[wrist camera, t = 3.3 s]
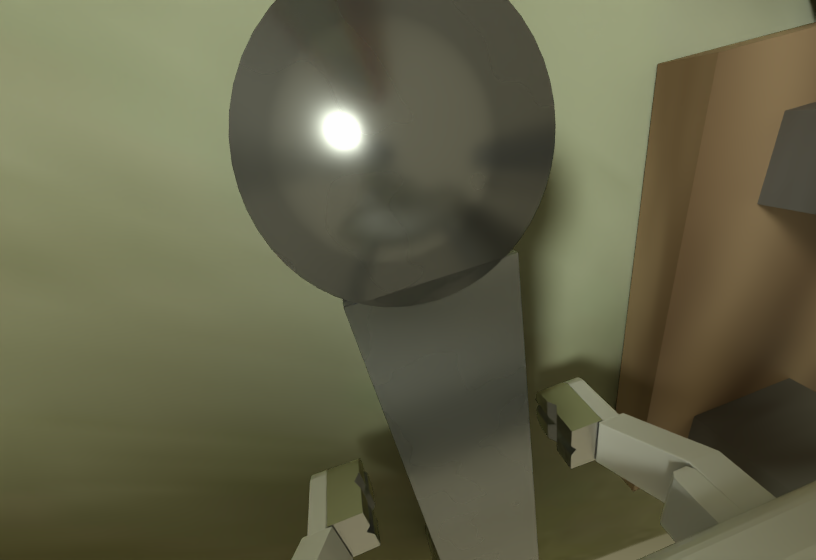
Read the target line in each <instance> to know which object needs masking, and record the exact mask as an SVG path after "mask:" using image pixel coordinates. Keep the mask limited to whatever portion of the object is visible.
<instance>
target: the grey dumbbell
mask: <svg viewBox="0 0 816 560" xmlns="http://www.w3.org/2000/svg"><path fill="white" fill-rule="evenodd" d="M229 143H230V152H231V160H232V166H233V170H234V174H235V178H236V182H237V185H238V189H239V192H240V194H241V197H242V199H243V202H244V204H245V207H246V209H247V211H248V213H249V215H250V217H251V219H252V220H253V222H254V224H255V226H256V228H257V230H258V231H259V233H260V234H261V235H262V237H263V238H264V240H265V241H266V242H267V244H268V245H269V246H270V248H271V249H272V250H273V251H274V252H275V253H276V254H277V255H278V257H279V258H280V259H281V260H282V261H283V262H284V263H285V264H286V265H287V266H288V267H290V268H291V269H292V270H293V271H294V272H296V273H297V274H298V275H299V276H300V277H302V278H303V279H305V280H306V281H308V282H309V283H311V284H312V285H314V286H316V287H317V288H319V289H321V290H323V291H325V292H327V293H329V294H331V295H333V296H336V297H339V298H342V299H343V306H344V310H345V313H346V316H347V318H348V321H349V323H350V326H351V329H352V331H353V334H354V336H355V339H356V342H357V344H358V347H359V349H360V352H361V355H362V357H363V360H364V362H365V365H366V368H367V370H368V373H369V375H370V378H371V381H372V383H373V386H374V388H375V391H376V394H377V396H378V399H379V402H380V404H381V407H382V409H383V412H384V415H385V417H386V420H387V422H388V425H389V428H390V430H391V433H392V435H393V438H394V441H395V443H396V446H397V448H398V451H399V454H400V456H401V459H402V461H403V464H404V467H405V469H406V472H407V474H408V477H409V480H410V482H411V485H412V487H413V490H414V493H415V495H416V498H417V501H418V503H419V506H420V508H421V511H422V514H423V516H424V519H425V521H426V527H425V531H426V535H427V539H428V543H429V547H430V551H431V555H432V559H433V560H539V556H538V541H537V526H536V511H535V496H534V482H533V467H532V452H531V437H530V422H529V407H528V392H527V377H526V362H525V347H524V332H523V317H522V302H521V287H520V272H519V257H518V252H516V251H515V250H513V249H512V248H513V247H514V246H515V245H516V243H517V242H518V241H519V240H520V238H521V237H522V235H523V234H524V232H525V230H526V229H527V227H528V226H529V224H530V223H531V221H532V219H533V217H534V215H535V213H536V211H537V209H538V207H539V204H540V202H541V199H542V196H543V194H544V191H545V188H546V185H547V181H548V178H549V174H550V170H551V166H552V159H553V153H554V145H555V110H554V100H553V94H552V89H551V83H550V79H549V75H548V72H547V69H546V66H545V62H544V59H543V57H542V54H541V52H540V50H539V47H538V45H537V43H536V41H535V38H534V36H533V35H532V33H531V31H530V30H529V28H528V26H527V25H526V23H525V21H524V20H523V18H522V16H521V15H520V14H519V13H518V11H517V10H516V9H515V8H514V7H513V5H512V4H511V3H510V2H509V0H276V1H275V2H274V3H273V4H272V5H271V6H270V8H269V9H268V10H267V12H266V13H265V15H264V16H263V18H262V19H261V21H260V22H259V24H258V25H257V27H256V28H255V30H254V31H253V33H252V35H251V38H250V40H249V42H248V44H247V46H246V48H245V50H244V52H243V55H242V57H241V60H240V63H239V67H238V70H237V73H236V77H235V80H234V83H233V89H232V96H231V103H230V109H229Z"/></svg>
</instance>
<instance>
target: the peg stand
mask: <svg viewBox="0 0 816 560" xmlns="http://www.w3.org/2000/svg"><path fill="white" fill-rule="evenodd" d="M616 412H617V413H618V414H622V413H624V414H627V415H629V416H632V417H634V418H637V419H640V420H642V421H645V422H647V423H650V424H652V425H655V426H657V427H660V428H662V429H665V430H667V431H670V432H672V433H675V434H677V435H680V436H682V437H685V438H687V439H690V440H692V441H695V442H697V443H700V444H703V445H705V446H708V447H710V448H713V449H715V450H718V451H720V452H721V453H722V454H723V455H725V456H726V457H727V458H728V459H729V460H731V461H732V462H733V463H734V464H735V465H737V466H738V467H739V468H740V469H742V470H743V471H744V472H745V473H746V474H748V475H749V476H750V477H751V478H753V479H754V480H755V481H756V482H757V483H759V484H760V485H761V486H762V487H763V488H765V489H766V490H767V491H768V492H770V493H771V494H772V495H773V496H774V497H776V498H778V497H780V496H782V495H784V494H787V493H789V492H791V491H793V490H796V489H798V488H800V487H802V486H805V485H807V484H809V483H811V482H813V481H816V22H814V23H811V24H807V25H803V26H799V27H795V28H792V29H788V30H784V31H780V32H777V33H773V34H769V35H765V36H761V37H758V38H754V39H750V40H746V41H743V42H739V43H735V44H731V45H727V46H724V47H720V48H716V49H712V50H709V51H705V52H701V53H697V54H693V55H690V56H686V57H682V58H678V59H675V60H671V61H667V62H663V63H659V64H658V67H657V75H656V83H655V92H654V100H653V108H652V116H651V124H650V133H649V141H648V149H647V157H646V165H645V174H644V182H643V190H642V198H641V206H640V215H639V223H638V231H637V239H636V247H635V256H634V264H633V272H632V280H631V288H630V297H629V305H628V313H627V321H626V329H625V338H624V346H623V354H622V362H621V370H620V379H619V387H618V395H617V403H616ZM621 478H622V477H621ZM622 479H623V480H624V481H625V482H626V483H627V485H628V486H629V487H630V488H631V489H632V491H635V490H638V489H640V488H639V487H637V486H636V485H634V484H632V483H631V482H629V481H627V480H626V479H624V478H622Z"/></svg>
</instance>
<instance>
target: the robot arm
mask: <svg viewBox="0 0 816 560" xmlns="http://www.w3.org/2000/svg"><path fill="white" fill-rule="evenodd" d="M536 401H537V403H538V404H539V406H538V407H537V409H536V413H537V418H538V421H539V423H540V426H541V427H542V429H543V431H544V432H545V434H546V435H547V437H548V438H550V439H552V440H554V441H556V442H557V451H558V452H559V453H560V455H561V456H562V457H563V459H564V460H565V461H566V463H567V464H568V466H569V467H570V468H571V469H572V468H575V467H577V466H580V465H583V464H585V463H588V462H591V461H594V460H596V462H598V463H599V464H601V465H603V466H604V467H606V468H608V469H609V470H611V471H613V472H614V473H616V474H617V475H619V476H621V477H622V478H624V479H626V480H627V481H629V482H631V483H632V484H634V485H636V486H637V487H639V488H640V489H642V490H644V491H645V492H647V493H649V494H650V495H652V496H654V497H655V498H657V499H659V500H660V501H662V502H664V507H663V510H662V514H661V518H660V524H661V526H662V527H663V528H664V529H665V530H666V532H667V533H668V534H669V535H670V536H671V537H672V539H673V540H674V541H675V542H676V543H674V544H672V545H670V546H667V547H665V548H663V549H661V550H659V551H656V552H654V553H652V554H650V555H647V556H645V557H643V558H640V559H638V560H816V481H813V482H811V483H809V484H807V485H805V486H802V487H800V488H798V489H796V490H793V491H791V492H789V493H787V494H784V495H782V496H780V497H778V498H776V497H774V496H773V495H772V494H771V493H770V492H768V491H767V490H766V489H765V488H763V487H762V486H761V485H760V484H759V483H757V482H756V481H755V480H754V479H753V478H751V477H750V476H749V475H748V474H746V473H745V472H744V471H743V470H742V469H740V468H739V467H738V466H737V465H735V464H734V463H733V462H732V461H731V460H729V459H728V458H727V457H726V456H725V455H723V454H722V453H721V452H720V451H718V450H715V449H713V448H710V447H708V446H705V445H703V444H700V443H697V442H695V441H692V440H690V439H687V438H685V437H682V436H680V435H677V434H675V433H672V432H670V431H667V430H665V429H662V428H660V427H657V426H655V425H652V424H650V423H647V422H645V421H642V420H640V419H637V418H634V417H632V416H629V415H627V414H624V413H622V414H618V413H617V412H616V411H615V410H614V409H613V408H612V407H611V406H610V405H609V404H608V403H607V402H605V401H604V400H603V399H602V398H601V397H600V396H599V395H598V394H597V393H596V392H595V391H594V390H593V389H592V388H591V387H590V386H589V385H588V384H587V383H586V382H585V381H584V380H583V379H581V378H579V377H577V378H574V379H571V380H569V381H566V382H564V383H563V382H562V383H559V384H557V385H554V386H552V387H549V388H546V389H544V390H541V391H539V392H537V393H536ZM374 507H375V499H374V493H373V488H372V484H371V481H370V478H369V476H368V474H367V473H366V472H364V468H363V463H362V461H361V460H360V458H359V459H356V460H353V461H351V462H348V463H345V464H342V465H339V466H336V467H333V468H331V469H327V470H325V471H322V472H319V473H316V474H314V475H312V476H311V480H310V490H309V512H308V534H307V536H305V537H303V538H302V539H301V541H300V543H299V545H298V547H297V549H296V551H295V553H294V555H293V557H292V559H291V560H353V558H352V557H355V556H357V555H359V554H362V553H364V552H366V551H368V550H371V549H373V548H375V547H378V546H380V545H381V544H380V536H379V529H378V521H377V518H376V516H375V514H374V512H373V509H374Z"/></svg>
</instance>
